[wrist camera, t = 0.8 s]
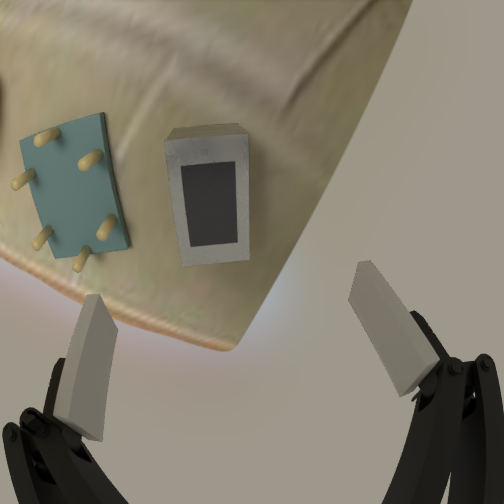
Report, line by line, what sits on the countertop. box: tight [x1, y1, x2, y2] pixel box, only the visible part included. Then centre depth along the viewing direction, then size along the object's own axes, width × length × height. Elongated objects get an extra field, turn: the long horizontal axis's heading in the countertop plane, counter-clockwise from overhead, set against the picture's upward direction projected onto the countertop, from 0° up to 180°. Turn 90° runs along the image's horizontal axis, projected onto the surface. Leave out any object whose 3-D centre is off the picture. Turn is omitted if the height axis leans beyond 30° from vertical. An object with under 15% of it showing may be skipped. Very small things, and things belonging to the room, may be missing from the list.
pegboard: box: [11, 112, 130, 273], centre depth 22 cm, size 15×10×5 cm
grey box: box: [164, 123, 250, 267], centre depth 24 cm, size 11×6×7 cm, turn 1°
